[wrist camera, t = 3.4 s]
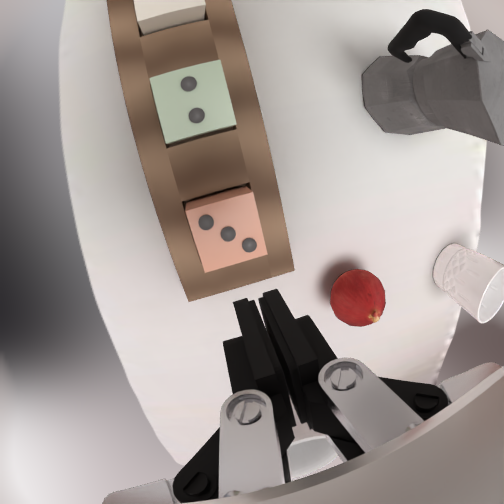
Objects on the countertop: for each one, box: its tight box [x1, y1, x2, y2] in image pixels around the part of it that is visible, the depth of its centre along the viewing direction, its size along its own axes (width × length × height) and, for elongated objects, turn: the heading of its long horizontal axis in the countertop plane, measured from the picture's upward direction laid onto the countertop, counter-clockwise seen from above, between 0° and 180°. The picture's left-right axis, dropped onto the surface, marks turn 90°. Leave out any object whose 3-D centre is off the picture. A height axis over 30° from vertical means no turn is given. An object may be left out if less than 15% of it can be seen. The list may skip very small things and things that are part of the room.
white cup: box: [433, 243, 504, 323], centre depth 31 cm, size 8×8×10 cm
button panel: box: [107, 0, 294, 302], centre depth 21 cm, size 32×10×3 cm, turn 13°
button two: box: [150, 60, 237, 144], centre depth 19 cm, size 5×5×3 cm
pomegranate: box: [330, 269, 386, 327], centre depth 28 cm, size 6×6×8 cm
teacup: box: [287, 396, 338, 479], centre depth 33 cm, size 12×15×10 cm
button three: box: [185, 186, 267, 273], centre depth 23 cm, size 5×5×3 cm
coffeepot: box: [362, 9, 504, 146], centre depth 17 cm, size 15×9×18 cm, turn 71°
